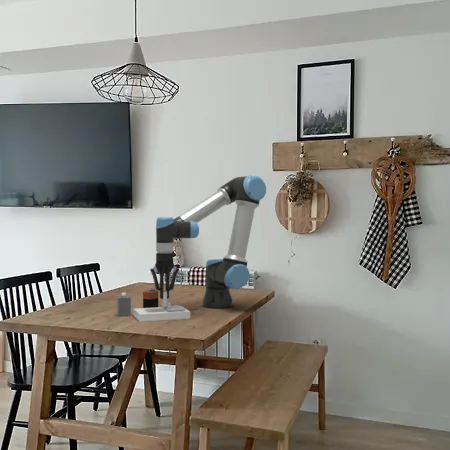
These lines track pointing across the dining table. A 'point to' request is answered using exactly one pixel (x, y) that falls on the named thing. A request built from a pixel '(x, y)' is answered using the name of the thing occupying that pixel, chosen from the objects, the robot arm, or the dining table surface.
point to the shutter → (173, 307)
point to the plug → (124, 305)
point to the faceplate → (159, 314)
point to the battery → (150, 298)
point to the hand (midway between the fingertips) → (164, 306)
